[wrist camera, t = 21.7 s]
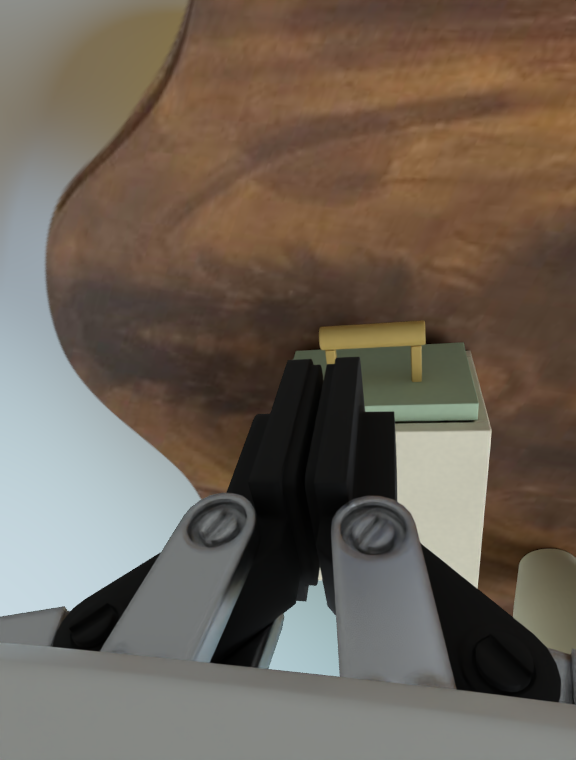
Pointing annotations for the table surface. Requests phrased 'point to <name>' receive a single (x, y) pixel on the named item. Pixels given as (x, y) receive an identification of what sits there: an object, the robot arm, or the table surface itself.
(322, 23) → the table surface
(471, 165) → the table surface
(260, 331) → the table surface
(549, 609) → the mug
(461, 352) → the drawer
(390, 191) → the table surface
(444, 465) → the cabinet
